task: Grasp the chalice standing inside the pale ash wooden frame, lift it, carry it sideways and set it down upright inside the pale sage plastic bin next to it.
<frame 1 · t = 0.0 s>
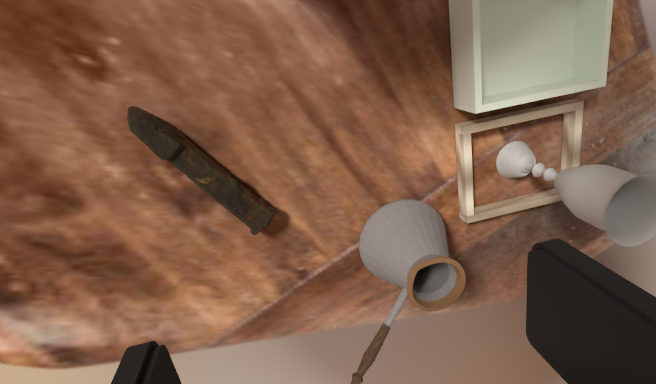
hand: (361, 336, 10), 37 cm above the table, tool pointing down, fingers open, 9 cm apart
sage bin: (514, 39, 46), on the table
ash frame: (513, 160, 51), on the table
hand tool: (202, 168, 45), on the table
chalice: (512, 159, 51), resting in ash frame
coffee pot: (370, 257, 52), on the table
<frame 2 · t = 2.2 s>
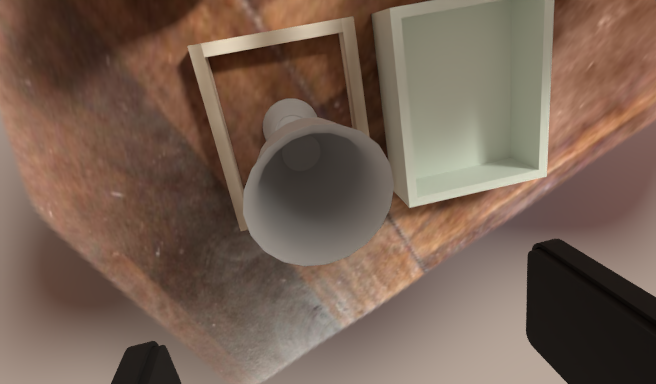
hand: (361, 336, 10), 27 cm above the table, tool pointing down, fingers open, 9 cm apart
sage bin: (449, 95, 36), on the table
ash frame: (291, 127, 34), on the table
chalice: (291, 126, 35), resting in ash frame
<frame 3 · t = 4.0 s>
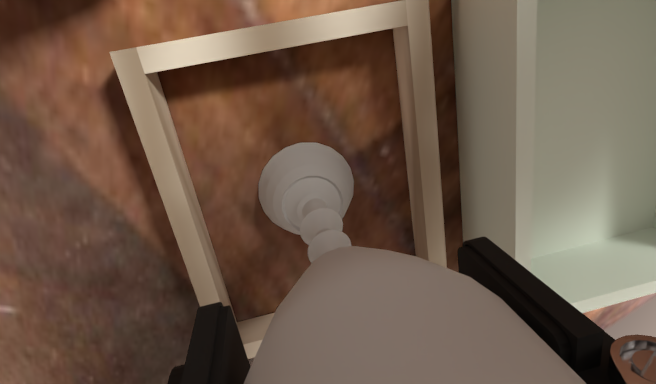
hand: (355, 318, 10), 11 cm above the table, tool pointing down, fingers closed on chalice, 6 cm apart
sage bin: (566, 131, 22), on the table
ash frame: (307, 189, 20), on the table
chalice: (306, 188, 20), resting in ash frame, touching gripper
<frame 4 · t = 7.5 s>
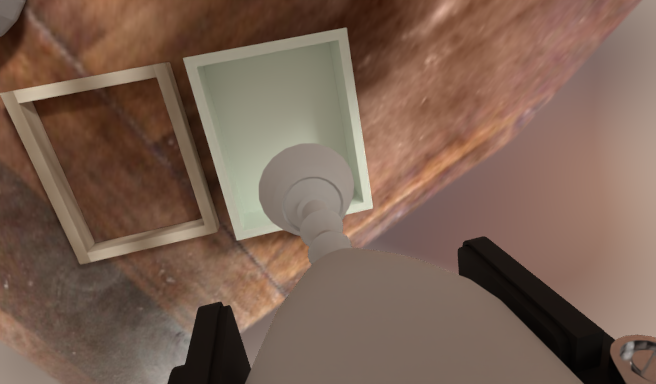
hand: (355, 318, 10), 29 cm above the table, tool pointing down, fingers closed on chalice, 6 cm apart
sage bin: (284, 130, 38), on the table
ash frame: (126, 164, 36), on the table
chalice: (306, 189, 20), point 18 cm above the table, touching gripper
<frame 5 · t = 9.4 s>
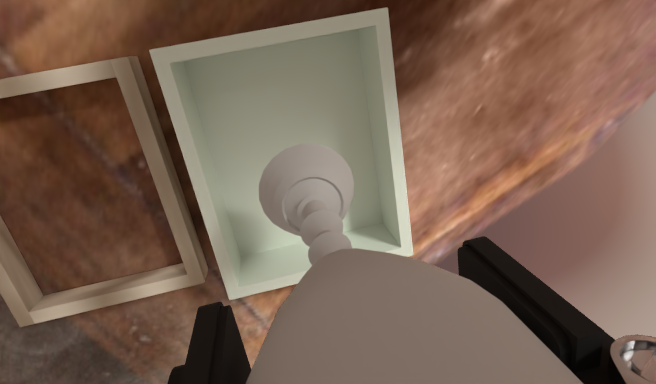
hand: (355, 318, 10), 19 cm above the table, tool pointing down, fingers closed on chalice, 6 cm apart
sage bin: (293, 148, 28), on the table
ash frame: (82, 193, 27), on the table
chalice: (306, 189, 20), point 8 cm above the table, touching gripper
when the fingers open (13 cm above the table, at t = 11.2 s): chalice drops 1 cm, resting on sage bin.
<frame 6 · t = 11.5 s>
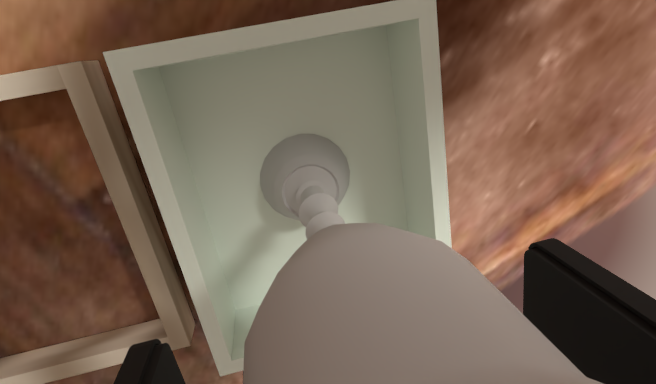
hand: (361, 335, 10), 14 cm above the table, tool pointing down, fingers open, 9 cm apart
sage bin: (302, 176, 22), on the table
ash frame: (31, 236, 21), on the table
chalice: (305, 177, 22), point 1 cm above the table, touching sage bin
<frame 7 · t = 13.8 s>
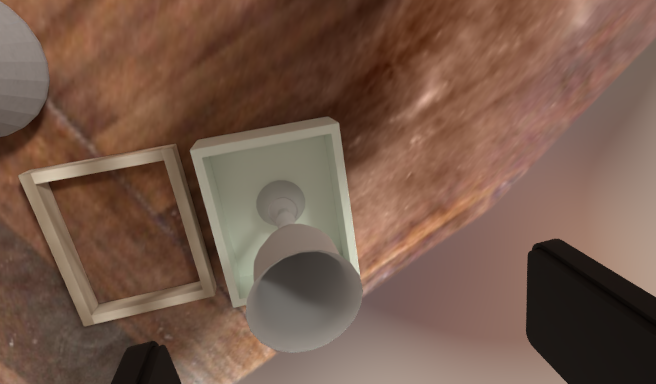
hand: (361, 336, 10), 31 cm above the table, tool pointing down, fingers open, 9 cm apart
sage bin: (279, 202, 41), on the table
ash frame: (132, 233, 39), on the table
chalice: (280, 203, 40), point 1 cm above the table, touching sage bin
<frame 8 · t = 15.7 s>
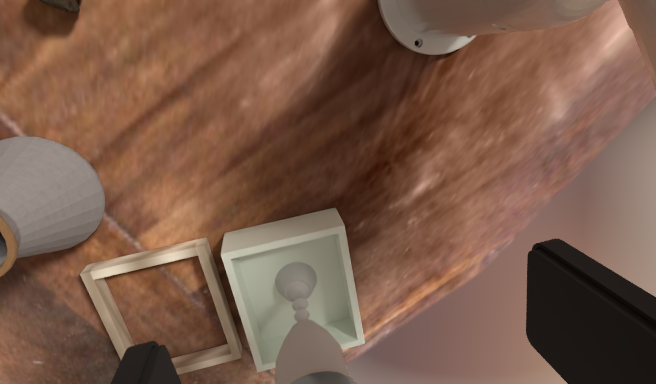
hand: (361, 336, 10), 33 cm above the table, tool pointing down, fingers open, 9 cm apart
sage bin: (294, 278, 47), on the table
ash frame: (170, 308, 46), on the table
chalice: (295, 279, 47), point 1 cm above the table, touching sage bin
coffee pot: (4, 156, 37), on the table
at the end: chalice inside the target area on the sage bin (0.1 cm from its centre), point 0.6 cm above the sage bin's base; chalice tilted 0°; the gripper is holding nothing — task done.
